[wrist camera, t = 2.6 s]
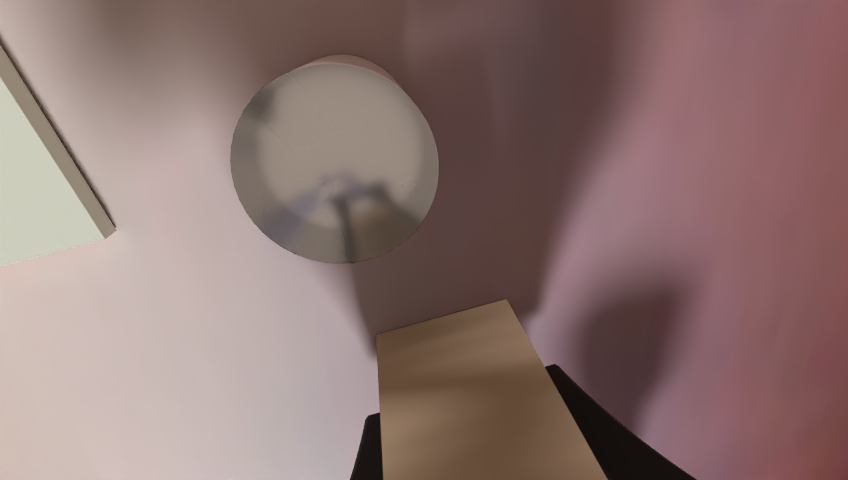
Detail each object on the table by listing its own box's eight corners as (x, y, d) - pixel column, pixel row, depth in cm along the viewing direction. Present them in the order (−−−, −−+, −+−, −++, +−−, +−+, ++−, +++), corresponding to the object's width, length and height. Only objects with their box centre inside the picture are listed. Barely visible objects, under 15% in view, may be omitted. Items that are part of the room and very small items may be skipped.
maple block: (408, 425, 14) (437, 660, 9) (376, 334, 12) (387, 558, 7) (522, 393, 14) (619, 606, 9) (506, 298, 13) (615, 494, 7)
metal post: (306, 200, 10) (278, 283, 7) (258, 74, 9) (192, 95, 6) (423, 168, 10) (455, 236, 7) (392, 39, 9) (412, 38, 6)
